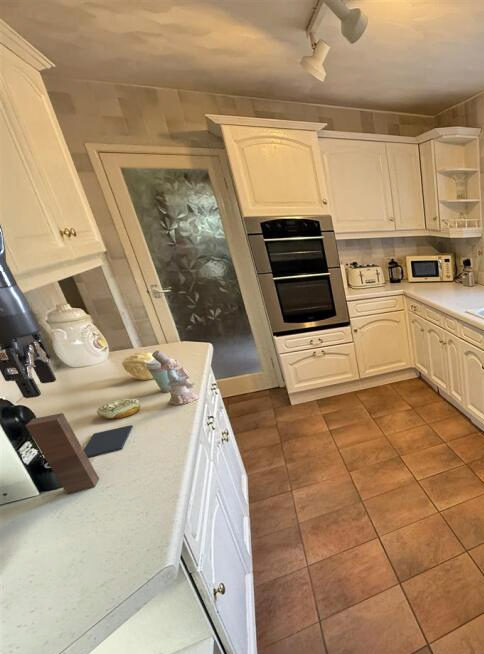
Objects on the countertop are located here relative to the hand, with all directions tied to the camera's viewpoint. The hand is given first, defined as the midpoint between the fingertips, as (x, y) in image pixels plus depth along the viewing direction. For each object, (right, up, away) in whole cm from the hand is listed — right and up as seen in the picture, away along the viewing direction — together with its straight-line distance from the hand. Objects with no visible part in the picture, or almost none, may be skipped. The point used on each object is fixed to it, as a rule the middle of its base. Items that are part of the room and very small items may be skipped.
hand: (41, 389), depth 81 cm
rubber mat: (-23, -16, +36) cm, 45 cm away
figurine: (-21, -5, +61) cm, 64 cm away
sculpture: (-54, +4, +83) cm, 99 cm away
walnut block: (-9, -24, +16) cm, 31 cm away
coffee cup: (-35, -1, +71) cm, 79 cm away
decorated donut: (-36, -9, +52) cm, 64 cm away
